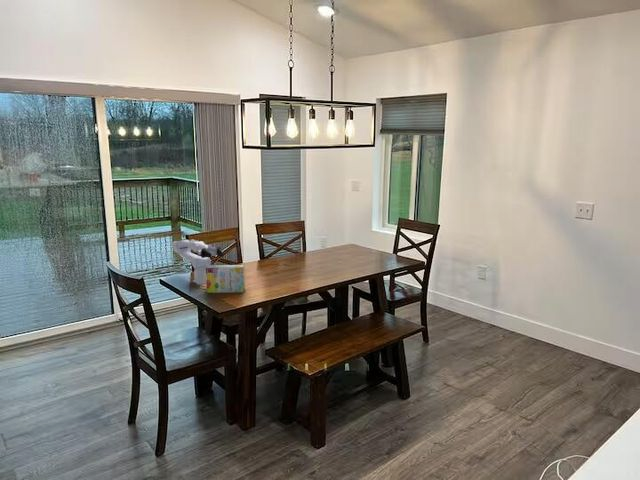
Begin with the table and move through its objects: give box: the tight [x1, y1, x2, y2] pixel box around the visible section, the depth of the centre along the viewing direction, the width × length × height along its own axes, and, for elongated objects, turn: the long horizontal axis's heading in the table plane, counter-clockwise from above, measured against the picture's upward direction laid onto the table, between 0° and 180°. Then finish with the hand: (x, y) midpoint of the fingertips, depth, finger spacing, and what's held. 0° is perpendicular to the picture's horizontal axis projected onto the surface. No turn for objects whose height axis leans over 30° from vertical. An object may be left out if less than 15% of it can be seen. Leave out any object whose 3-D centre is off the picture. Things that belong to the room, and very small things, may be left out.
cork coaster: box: [199, 284, 207, 290], centre depth 272 cm, size 9×9×1 cm
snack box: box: [206, 264, 246, 294], centre depth 263 cm, size 21×6×15 cm, turn 92°
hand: (216, 255), depth 262 cm, fingers open, 7 cm apart
